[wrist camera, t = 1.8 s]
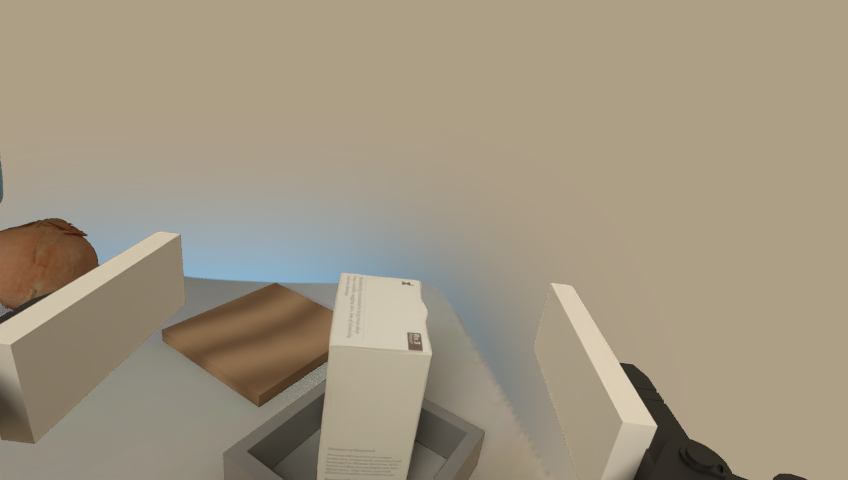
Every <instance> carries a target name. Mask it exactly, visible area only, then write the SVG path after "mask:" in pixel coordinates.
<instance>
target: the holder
mask: <svg viewBox="0 0 848 480" xmlns="http://www.w3.org/2000/svg"><path fill="white" fill-rule="evenodd" d="M325 389H326V379H325V380H324V381H322V382H321V383H320V384H318V385H317V386H316V387H314V388H313V389H311V390H310V391H309V392H307V393H306V394H304V395H303V396H302V397H300V398H299V399H298V400H296V401H295V402H293V403H292V404H291V405H289V406H288V407H286V408H285V409H284V410H282V411H281V412H279V413H278V414H277V415H275V416H274V417H273V418H271V419H270V420H268V421H267V422H266V423H264V424H263V425H261V426H260V427H259V428H257V429H256V430H255V431H253V432H252V433H250V434H249V435H248V436H246V437H245V438H243V439H242V440H241V441H239V442H238V443H236V444H235V445H234V446H232V447H231V448H230V449H228V450H227V451H225V452H224V453H223V458H224V480H283V479H282V478H281V477H279V476H278V475H277V474H275V473H274V472H273V471H271V470H270V469H271V468H273V467H274V466H275V465H276V464H277V463H279V462H280V461H281V460H282V459H283V458H285V457H286V456H287V455H288V454H289V453H291V452H292V451H293V450H294V449H295V448H297V447H298V446H299V445H300V444H301V443H303V442H304V441H305V440H306V439H307V438H309V437H310V436H311V435H312V434H313V433H315V432H316V431H317V430H318V429H319V428H321V424H322V415H323V406H324V398H325ZM484 434H485V431H483V430H481V429H479V428H478V427H476V426H474V425H472V424H470V423H468V422H467V421H465V420H463V419H461V418H459V417H457V416H456V415H454V414H452V413H450V412H448V411H447V410H445V409H443V408H441V407H439V406H437V405H436V404H434V403H432V402H430V401H428V400H426V399H425V398H423V403H422V407H421V412H420V417H419V422H418V427H417V431H416V436H415V440H416V441H418V442H419V443H421V444H423V445H424V446H426V447H428V448H429V449H431V450H433V451H434V452H436V453H437V454H439V455H441V456H442V457H444V458H446V459H447V462H446V463H445V464H444V466H443V467H442V469H441V470H440V471H439V473H438V474H437V475H436V477H435V478H434V480H468V478H469V477H470V475H471V474H472V472H473V470H474V469H475V467H476V466H477V462H478V458H479V454H480V450H481V446H482V442H483V438H484Z"/></svg>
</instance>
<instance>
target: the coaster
mask: <svg viewBox="0 0 848 480" xmlns="http://www.w3.org/2000/svg"><path fill="white" fill-rule="evenodd" d="M332 318H333V311H331V310H329V309H327V308H325V307H323V306H321V305H319V304H317V303H315V302H313V301H311V300H309V299H307V298H305V297H303V296H301V295H299V294H297V293H295V292H293V291H291V290H289V289H287V288H285V287H283V286H281V285H279V284H277V283H274V284H272V285H269V286H267V287H264V288H262V289H260V290H257V291H255V292H252V293H250V294H247V295H245V296H243V297H240V298H238V299H235V300H233V301H231V302H228V303H226V304H223V305H221V306H219V307H216V308H214V309H211V310H209V311H207V312H204V313H202V314H199V315H197V316H194V317H192V318H190V319H187V320H185V321H182V322H180V323H178V324H175V325H173V326H170V327H168V328H166V329H163V330H162V337H163V341H165V342H166V343H167V344H169V345H170V346H172V347H173V348H175V349H176V350H177V351H179V352H180V353H182V354H183V355H185V356H186V357H188V358H189V359H190V360H192V361H193V362H195V363H196V364H198V365H199V366H201V367H202V368H203V369H205V370H206V371H208V372H209V373H211V374H212V375H213V376H215V377H216V378H218V379H219V380H221V381H222V382H224V383H225V384H226V385H228V386H229V387H231V388H232V389H234V390H235V391H237V392H238V393H239V394H241V395H242V396H244V397H245V398H247V399H248V400H250V401H251V402H252V403H254V404H255V405H257V406H258V407H260V406H261V405H263V404H264V403H266V402H267V401H269V400H270V399H271V398H273V397H274V396H276V395H277V394H279V393H280V392H282V391H283V390H285V389H286V388H288V387H289V386H291V385H292V384H294V383H295V382H297V381H298V380H300V379H301V378H303V377H304V376H306V375H307V374H308V373H310V372H311V371H313V370H314V369H316V368H317V367H319V366H320V365H322V364H323V363H325V362H326V361H328V355H329V339H330V331H331V325H332Z"/></svg>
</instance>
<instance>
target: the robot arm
mask: <svg viewBox="0 0 848 480" xmlns="http://www.w3.org/2000/svg"><path fill="white" fill-rule="evenodd" d="M2 199H3V180H2V169H1V162H0V203H1V201H2ZM180 237H181V235H180V234H176V233H168V232H161V231H158V232H156V233H154V234H153V235H151V236H149V237H148V238H146V239H144V240H143V241H141V242H139V243H137V244H136V245H134V246H132V247H131V248H129V249H127V250H126V251H124V252H122V253H121V254H119V255H117V256H115V257H114V258H112V259H110V260H109V261H107V262H105V263H104V264H102V265H100V266H98V267H97V268H95V269H93V270H92V271H90V272H88V273H87V274H85V275H83V276H81V277H80V278H78V279H76V280H75V281H73V282H71V283H70V284H68V285H66V286H64V287H63V288H61V289H59V290H58V291H54V292H51V293H48V294H45V295H42V296H39V297H36V298H33V299H31V300H29V301H27V302H26V303H24V304H22V305H20V306H19V307H17V308H15V309H14V311H13V312H11V311H10V312H8V313H6V314H5V315H3V316H1V317H0V436H1V439H2V440H8V441H16V442H24V443H33V444H35V443H36V442H37V441H38V440H39V439H41V438H42V437H43V436H44V435H45V434H46V433H47V432H48V431H49V430H50V429H51V428H52V427H53V426H54V425H55V424H57V423H58V422H59V421H60V420H61V419H62V418H63V417H64V416H65V415H66V414H67V413H68V412H69V411H70V410H72V409H73V408H74V407H75V406H76V405H77V404H78V403H79V402H80V401H81V400H82V399H83V398H84V397H85V396H86V395H88V394H89V393H90V392H91V391H92V390H93V389H94V388H95V387H96V386H97V385H98V384H99V383H100V382H101V381H103V380H104V379H105V378H106V377H107V376H108V375H109V374H110V373H111V372H112V371H113V370H114V369H115V368H116V367H117V366H119V365H120V364H121V363H122V362H123V361H124V360H125V359H126V358H127V357H128V356H129V355H130V354H131V353H132V352H133V351H135V350H136V349H137V348H138V347H139V346H140V345H141V344H142V343H143V342H144V341H145V340H146V339H147V338H148V337H150V336H151V335H152V334H153V333H154V332H155V331H156V330H157V329H158V328H159V327H160V326H161V325H162V324H163V323H164V322H166V321H167V320H168V319H169V318H170V317H171V316H172V315H173V314H174V313H175V312H176V311H177V310H178V309H179V308H181V307H182V306H183V305H184V304H185V303H186V302H185V289H184V275H183V262H182V249H181V238H180ZM534 350H535V353H536V356H537V359H538V362H539V365H540V368H541V371H542V374H543V377H544V380H545V382H546V385H547V389H548V391H549V395H550V397H551V400H552V403H553V406H554V409H555V412H556V415H557V418H558V421H559V424H560V427H561V430H562V432H563V436H564V439H565V442H566V445H567V448H568V450H569V453H570V457H571V459H572V462H573V465H574V468H575V471H576V474H577V477H578V480H747V479H744V478H741V477H739V476H736V475H734V474H732V472H731V470H730V469H729V467H728V465H727V463H726V462H725V461H724V460H723V459H722V458H721V457H720V456H719V455H718V454H716V453H715V452H714V451H712V450H711V449H709V448H708V447H706V446H705V445H703V444H701V443H698V442H696V441H694V440H690V439H689V438H688V436H687V435H686V433H685V432H684V430H683V429H682V427H681V426H680V424H679V423H678V421H677V420H676V418H675V417H674V415H673V414H672V412H671V411H670V409H669V408H668V406H667V405H666V404H664V401H663V400H662V398H661V396H660V395H659V393H657V392H656V389H655V387H654V386H653V384H652V383H651V381H650V380H649V378H648V377H647V376H646V375H645V374H644V373H642V372H641V371H640V370H639V369H638V368H636V367H635V366H634V365H632V364H625V363H619V362H618V361H617V359H616V357H615V356H614V354H613V352H612V351H611V349H610V347H609V346H608V344H607V343H606V341H605V339H604V338H603V336H602V334H601V333H600V331H599V329H598V328H597V326H596V325H595V323H594V321H593V320H592V318H591V316H590V315H589V313H588V311H587V310H586V308H585V306H584V305H583V303H582V301H581V300H580V299H579V297H578V295H577V293H576V292H575V290H574V288H573V287H572V286H570V285H563V284H554V283H551V284H550V288H549V291H548V295H547V299H546V303H545V306H544V310H543V314H542V318H541V322H540V325H539V329H538V333H537V337H536V341H535V345H534ZM773 480H807V479H805V478H802V477H799V476H795V475H792V474H779V475H777V476H775V477H774V478H773Z"/></svg>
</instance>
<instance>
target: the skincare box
mask: <svg viewBox="0 0 848 480" xmlns="http://www.w3.org/2000/svg"><path fill="white" fill-rule="evenodd" d="M427 316H428V311H427V308H426V306H425V305H424V303H423V298H422V284H421V282H420V281H417V280H408V279H399V278H388V277H375V276H367V275H359V274H351V273H342V274H341V276H340V280H339V285H338V289H337V294H336V300H335V306H334V312H333V318H332V325H331V331H330V339H329V355H328V366H327V377H326V389H325V398H324V406H323V415H322V424H321V434H320V444H319V453H318V464H317V473H316V480H407V475H408V470H409V465H410V461H411V456H412V451H413V446H414V441H415V436H416V431H417V427H418V422H419V417H420V412H421V407H422V403H423V398H424V393H425V389H426V384H427V379H428V374H429V369H430V364H431V359H432V355H433V353H432V348H431V343H430V338H429V333H428V328H427V322H426V319H427Z"/></svg>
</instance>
